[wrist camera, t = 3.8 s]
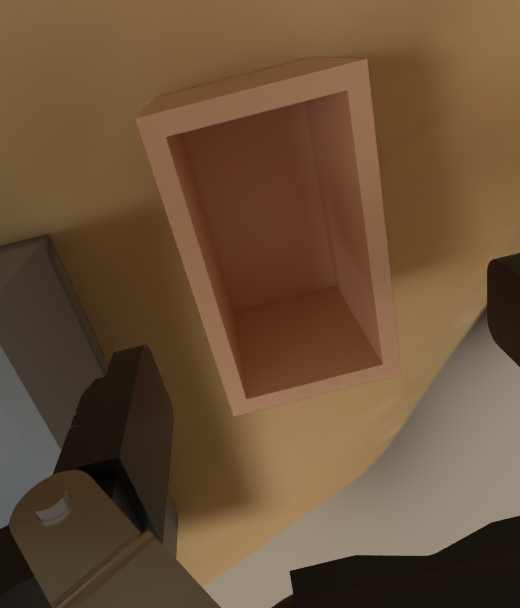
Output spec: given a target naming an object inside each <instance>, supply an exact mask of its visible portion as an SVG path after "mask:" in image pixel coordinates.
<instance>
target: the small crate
mask: <svg viewBox="0 0 520 608" xmlns="http://www.w3.org/2000/svg"><path fill="white" fill-rule="evenodd" d="M135 120H136V123H137V126H138V129H139V132H140V135H141V138H142V141H143V144H144V147H145V150H146V153H147V156H148V159H149V163H150V166H151V169H152V172H153V175H154V178H155V181H156V184H157V187H158V190H159V193H160V196H161V199H162V202H163V205H164V208H165V211H166V214H167V217H168V220H169V223H170V226H171V229H172V232H173V235H174V238H175V241H176V244H177V247H178V250H179V253H180V256H181V259H182V262H183V265H184V268H185V271H186V274H187V277H188V280H189V283H190V286H191V289H192V292H193V295H194V299H195V302H196V305H197V308H198V311H199V314H200V317H201V320H202V323H203V326H204V329H205V332H206V335H207V338H208V341H209V344H210V347H211V350H212V353H213V356H214V359H215V362H216V365H217V368H218V371H219V374H220V377H221V380H222V383H223V386H224V389H225V392H226V395H227V398H228V401H229V404H230V407H231V410H232V413H233V416H234V417H235V416H239V415H243V414H247V413H251V412H255V411H259V410H263V409H267V408H271V407H275V406H279V405H283V404H287V403H290V402H294V401H298V400H302V399H306V398H310V397H314V396H318V395H322V394H326V393H330V392H334V391H338V390H342V389H345V388H349V387H353V386H357V385H361V384H365V383H369V382H373V381H377V380H381V379H385V378H389V377H393V376H397V375H400V374H402V373H401V364H400V355H399V346H398V336H397V327H396V318H395V309H394V300H393V290H392V281H391V272H390V263H389V254H388V244H387V235H386V226H385V217H384V208H383V198H382V189H381V180H380V171H379V162H378V152H377V143H376V134H375V125H374V116H373V107H372V97H371V88H370V79H369V70H368V61H367V59H361V58H317V57H310V58H306V59H302V60H298V61H295V62H291V63H287V64H283V65H279V66H275V67H271V68H267V69H264V70H260V71H256V72H252V73H248V74H244V75H240V76H237V77H233V78H229V79H225V80H221V81H217V82H213V83H210V84H206V85H202V86H198V87H194V88H190V89H186V90H183V91H179V92H175V93H171V94H167V95H163V96H159V97H156V98H155V99H154V100H153V101H152V102H151V103H150V104H149V105H148V106H147V107H146V108H145V109H144V110H143V111H142V112H141V113H140V114H139V115H138V116H137V117H136V118H135Z"/></svg>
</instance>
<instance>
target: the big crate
mask: <svg viewBox="0 0 520 608" xmlns="http://www.w3.org/2000/svg"><path fill="white" fill-rule="evenodd" d="M108 367H109V365H108V363H107V361H106V358H105V356H104V354H103V352H102V350H101V348H100V345H99V343H98V341H97V339H96V337H95V334H94V332H93V330H92V328H91V326H90V324H89V321H88V319H87V317H86V315H85V313H84V311H83V308H82V306H81V304H80V302H79V300H78V298H77V295H76V293H75V291H74V289H73V287H72V285H71V282H70V280H69V278H68V276H67V274H66V272H65V269H64V267H63V265H62V263H61V261H60V259H59V256H58V254H57V252H56V250H55V248H54V246H53V243H52V241H51V239H50V237H49V235H44V236H40V237H36V238H32V239H28V240H25V241H21V242H17V243H13V244H9V245H5V246H1V247H0V529H1V528H3V527H5V526H7V525H8V524H9V522H10V517H11V514H12V512H13V510H14V508H15V506H16V505H17V503H18V502H19V501H20V499H21V498H22V497H23V496H24V495H25V494H26V493H27V492H28V491H29V490H30V489H31V488H32V487H34V486H35V485H36V484H38V483H39V482H41V481H42V480H44V479H46V478H48V477H50V476H52V474H53V472H54V469H55V466H56V463H57V461H58V458H59V455H60V453H61V450H62V447H63V444H64V442H65V439H66V436H67V433H68V431H69V429H71V426H70V425H71V422H72V420H73V417H74V415H76V409H77V406H78V403H79V401H80V398H81V395H82V394H83V393H84V392H85V390H86V389H87V388H88V387H89V386H90V385H91V384H92V382H93V381H94V380H95V379H97V378H101V377H105V376H106V373H107V370H108ZM177 529H178V514H177V512H176V510H175V508H174V506H173V504H172V501H171V499H170V497H169V495H168V493H167V501H166V513H165V524H164V536H163V546H164V547H165V548H166V549H167V550H168V551H169V552H170V553H171V554H172V555H173V556H174V558H175V559H176V551H177Z"/></svg>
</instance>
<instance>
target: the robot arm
mask: <svg viewBox="0 0 520 608" xmlns="http://www.w3.org/2000/svg"><path fill="white" fill-rule="evenodd" d="M487 320H488V326H489V330H490V333H491V335H492V337H493V339H494V341H495V342H496V343H497V345H498V346H499V347H500V348H501V349H502V350H503V351H504V352H505V353H506V354H507V355H508V356H509V357H510V358H511V359H512V360H513V361H514V362H515V363H516V364H517V365H518V366H519V367H520V253H518V254H514V255H510V256H505V257H501V258H497V259H493V260H491V261H490V263H489V265H488V269H487ZM70 426H71V429H69V431H68V433H67V436H66V439H65V442H64V444H63V447H62V450H61V453H60V455H59V458H58V461H57V463H56V466H55V469H54V472H53V474H52V476H50V477H48V478H46V479H44V480H42V481H41V482H39V483H38V484H36V485H35V486H34V487H32V488H31V489H30V490H29V491H28V492H27V493H26V494H25V495H24V496H23V497H22V498H21V499H20V501H19V502H18V503H17V505H16V506H15V508H14V510H13V512H12V514H11V517H10V522H9V524H8V525H7V526H5V527H3V528H1V529H0V608H221V607H220V606H219V605H218V604H217V603H216V602H215V601H214V600H213V599H212V598H211V597H210V596H209V594H208V593H207V592H206V591H205V590H204V589H203V588H202V587H201V586H200V585H199V584H198V582H197V581H196V580H195V579H194V578H193V577H192V576H191V575H190V574H189V573H188V572H187V571H186V569H185V568H184V567H183V566H182V565H181V564H180V563H179V562H178V561H177V560H176V559H175V558H174V556H173V555H172V554H171V553H170V552H169V551H168V550H167V549H166V548H165V547H164V546H163V536H164V524H165V513H166V501H167V490H168V479H169V467H170V456H171V444H172V433H173V412H172V406H171V402H170V399H169V396H168V393H167V391H166V388H165V386H164V383H163V381H162V378H161V376H160V373H159V371H158V368H157V366H156V363H155V361H154V358H153V356H152V353H151V351H150V349H149V348H148V346H147V345H142V346H138V347H134V348H130V349H126V350H122V351H118V352H114V353H113V355H112V357H111V360H110V364H109V367H108V370H107V373H106V376H105V377H101V378H97V379H95V380H94V381H93V382H92V384H91V385H90V386H89V387H88V388H87V389H86V390H85V392H84V393H83V394H82V395H81V398H80V401H79V403H78V406H77V409H76V415H74V417H73V420H72V422H71V425H70ZM290 577H291V583H292V589H293V594H292V595H290V596H288V597H287V598H285V599H283V600H282V601H280V602H279V603H277V604H276V605H275V606H273V607H272V608H520V516H517V517H513V518H509V519H504V520H500V521H496V522H492V523H490V524H488V525H486V526H485V527H483V528H481V529H479V530H477V531H476V532H474V533H472V534H470V535H469V536H467V537H465V538H463V539H461V540H460V541H457V542H456V543H454V544H452V545H450V546H448V547H447V548H445V549H443V550H441V551H439V552H438V553H435V554H433V555H429V556H373V555H371V556H370V555H368V556H367V555H355V556H351V557H346V558H342V559H338V560H334V561H329V562H325V563H321V564H317V565H313V566H309V567H304V568H300V569H296V570H292V571H290Z"/></svg>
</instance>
